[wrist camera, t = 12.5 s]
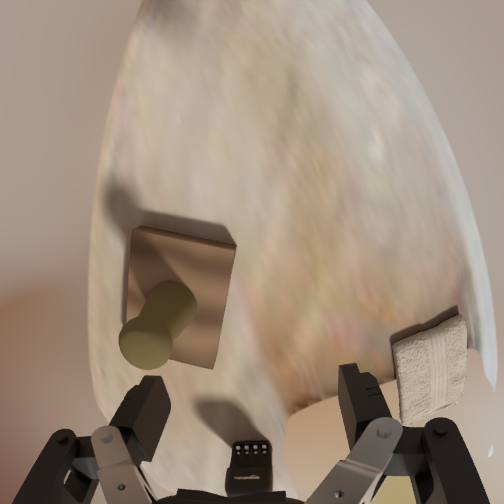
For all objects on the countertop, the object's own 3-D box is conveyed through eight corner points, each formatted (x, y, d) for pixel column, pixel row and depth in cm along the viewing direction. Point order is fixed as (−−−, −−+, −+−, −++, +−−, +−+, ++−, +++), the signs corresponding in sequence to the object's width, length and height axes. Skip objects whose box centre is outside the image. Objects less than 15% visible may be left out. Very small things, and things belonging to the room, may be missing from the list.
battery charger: (272, 436, 44) (271, 491, 33) (274, 450, 45) (273, 503, 34) (229, 438, 45) (220, 492, 34) (233, 451, 46) (225, 503, 34)
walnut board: (140, 225, 37) (132, 229, 34) (236, 245, 37) (234, 250, 34) (132, 337, 41) (126, 346, 38) (215, 359, 41) (212, 369, 38)
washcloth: (398, 420, 43) (403, 432, 40) (387, 340, 39) (394, 352, 36) (457, 393, 41) (465, 404, 38) (457, 309, 38) (468, 318, 35)
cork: (157, 271, 35) (115, 311, 25) (204, 293, 36) (179, 341, 25) (143, 314, 37) (104, 361, 26) (188, 334, 37) (161, 389, 26)
